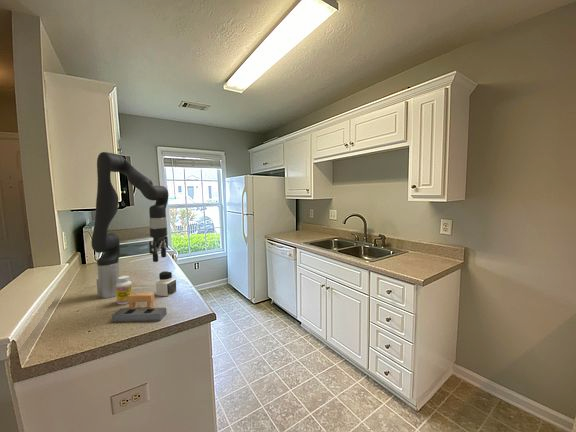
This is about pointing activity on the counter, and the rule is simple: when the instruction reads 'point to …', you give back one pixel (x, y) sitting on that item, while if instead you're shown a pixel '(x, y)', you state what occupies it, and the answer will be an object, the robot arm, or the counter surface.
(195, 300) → the counter surface
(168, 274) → the medicine bottle
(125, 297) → the supplement bottle
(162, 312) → the grey slotted block
